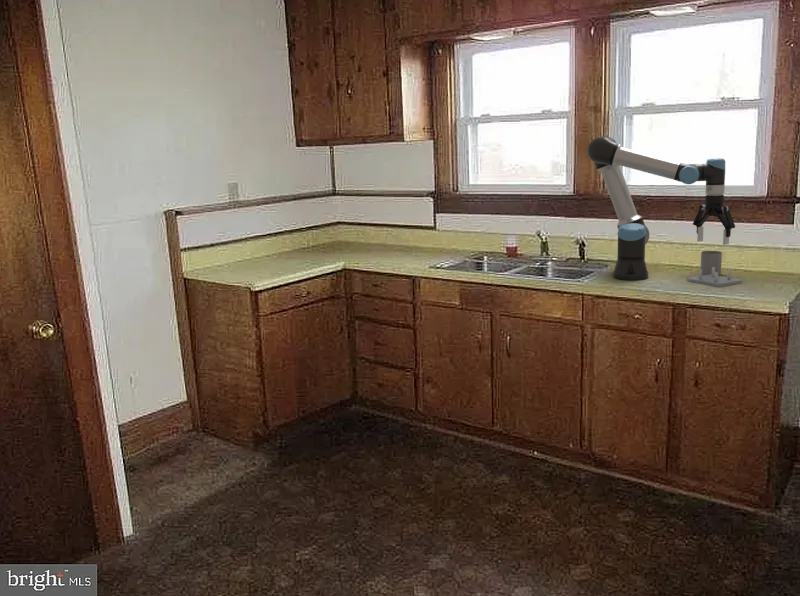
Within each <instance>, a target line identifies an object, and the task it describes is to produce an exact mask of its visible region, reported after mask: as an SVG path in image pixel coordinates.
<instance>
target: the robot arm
mask: <svg viewBox="0 0 800 596" xmlns="http://www.w3.org/2000/svg"><path fill="white" fill-rule="evenodd" d="M586 153H587V156H588V158H589V159H590V161H592V162H593V164H594V166H595V169H596V172H597V171H598V172H599V173H601V175H602V178H603V180H604V184H605V185H606V189H607V191H608V195H609V197H610V200H611V203H612V206H613V208H614V209H613V210H614V211H615V215H616V216H617V219H618V222H617V225H616V226H617V229H618V230H617V260H616V262H615V266H614V270H613V272H612V277H613V278H614V279H617V280H625V281H640V280H646V279H648V278H649V271H648V268H647V263H646V245H647V244H648V242H649V239H650V231H649V228H648V227H647V225H646V224H645V221H644V219H643V216H641V215H640V214H638V212H637V208H636V207H635V205H634V202H633V198H632V196H631V193H630V190H629V188H628V185H627V181H626V179H625V176H624V174H623V170H622V168H621V166H622V167H625V168H628V169H633V170H636V171H638V172H644V173H647V174H651V175H654V176H658V177H663V178H666V179H670V180H672V181H673V180H674V181H676V182H678V183H679V182H681V183H683V184H685V185H692V184H695V183H696V182H705V194H706V195H705V199H704V204H699V207H698V211H697V213H696V216H695V218H694V219H693V222H692V225H693V226H695V227H696V234H697V242H698V243H699V242H703V241H704V226H703V225H704V224H705V223H706V222H707V220H708V219H709V218H710V217H712V216H713V217H716V218H718V221H720V222H721V224H722V226H723V227H724V229H723V237H722V245H723V246H725V245H729V243H730V237H731V233H732V232H731V230H732V229H735V228H736V224H735V222H734V218H733V217H732V213H731V210H730V206H729V205H727V206H723V205H724V203H725V195H724V194H725V189H726V188H725V186H726V185H725V182H726V159H724V158H708V159H706V162H705V163H689V164H687V163H682V162H679V161H675V160H671V159H667V158H663V157H660V156H656V155H652V154H648V153H644V152H641V151H637V150H633V149H631V148H625V147H623V146H622V145H621V144H620V143H618V142H617V141H616V140H615V139H614V138H612V137H611V136H605V135H604V136H598V137H596V138H593V139H592V140H591V141H590V142H589V144H588V145H587V149H586Z"/></svg>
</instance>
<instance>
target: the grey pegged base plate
mask: <svg viewBox="0 0 800 596" xmlns="http://www.w3.org/2000/svg"><path fill="white" fill-rule="evenodd" d="M731 276H732V270H731V269H728V270H727V276H723V275H722V276H721V275H720V276H718V272H715V267H712V275H711V274H709V275H702V270H701V268H699V269H698V276H692V277H688V278H686V279H687V280H686V281H687V282H690V283H695V284H701V285H707V286H711V287H716V288H721V287H726V286H727V287H728V286H731V285H737V284H742V283H743V280H742V279H739V278H734V277H731Z"/></svg>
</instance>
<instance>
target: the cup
mask: <svg viewBox="0 0 800 596" xmlns="http://www.w3.org/2000/svg"><path fill="white" fill-rule="evenodd" d="M700 254H701V255H700V269H701V270H702V276H703V275H709V274H711V275H712V267H715V272H718V276H721V275H722V262H723V261H722V258H723V252H722V251H719V250H702V251H701V252H700Z"/></svg>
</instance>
